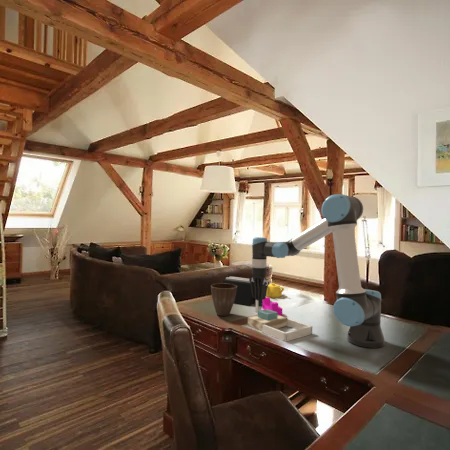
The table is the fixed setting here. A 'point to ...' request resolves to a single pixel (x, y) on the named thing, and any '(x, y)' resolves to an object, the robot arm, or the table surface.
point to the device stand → (241, 290)
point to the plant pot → (223, 297)
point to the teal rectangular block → (267, 314)
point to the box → (287, 336)
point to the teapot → (274, 290)
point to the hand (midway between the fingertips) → (258, 312)
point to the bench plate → (267, 322)
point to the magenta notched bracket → (271, 306)
